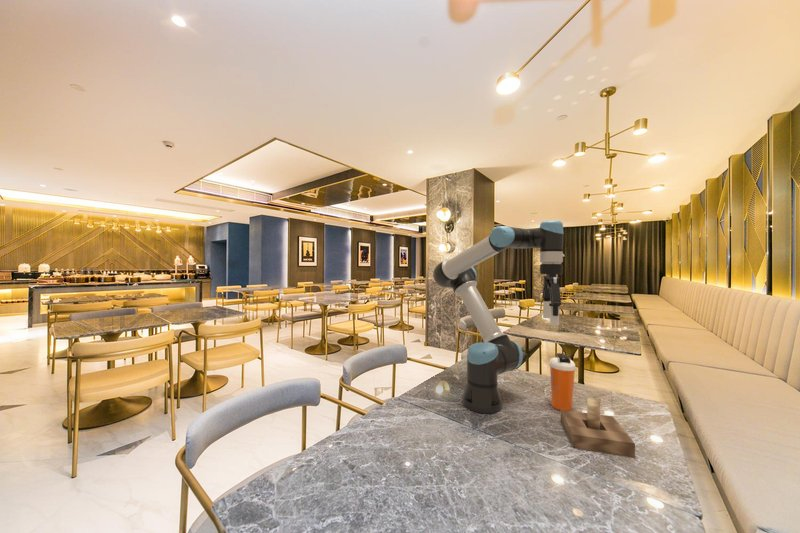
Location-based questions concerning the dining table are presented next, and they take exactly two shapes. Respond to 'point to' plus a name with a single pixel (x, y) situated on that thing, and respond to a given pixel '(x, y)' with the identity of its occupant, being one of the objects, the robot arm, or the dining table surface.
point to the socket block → (597, 434)
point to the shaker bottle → (562, 382)
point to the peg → (593, 413)
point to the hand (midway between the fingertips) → (550, 321)
